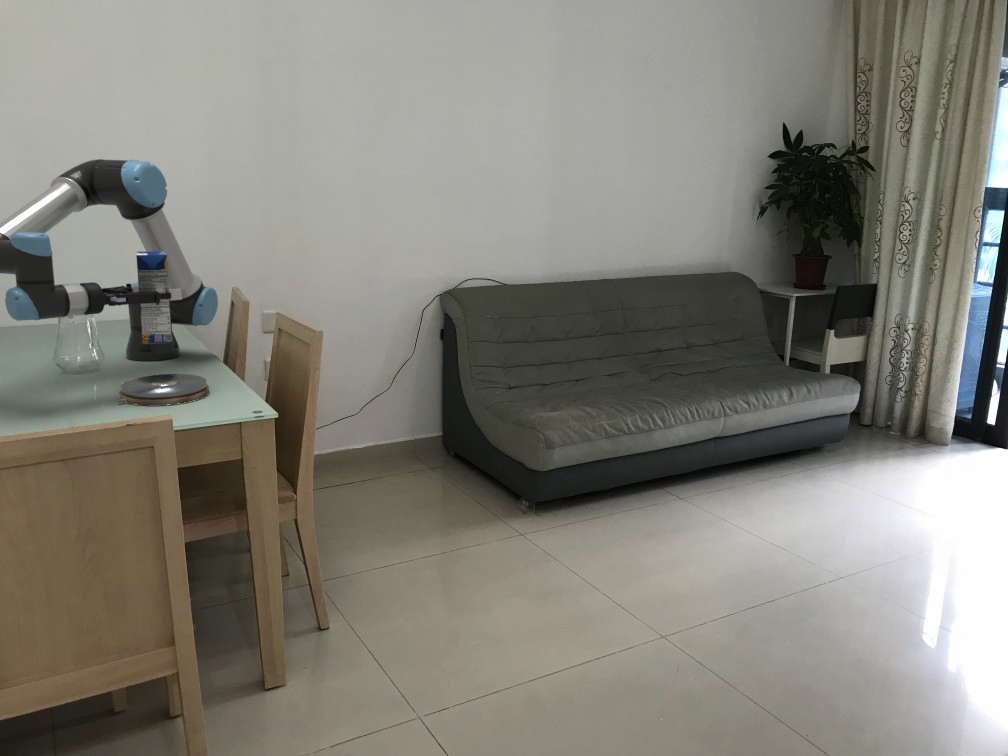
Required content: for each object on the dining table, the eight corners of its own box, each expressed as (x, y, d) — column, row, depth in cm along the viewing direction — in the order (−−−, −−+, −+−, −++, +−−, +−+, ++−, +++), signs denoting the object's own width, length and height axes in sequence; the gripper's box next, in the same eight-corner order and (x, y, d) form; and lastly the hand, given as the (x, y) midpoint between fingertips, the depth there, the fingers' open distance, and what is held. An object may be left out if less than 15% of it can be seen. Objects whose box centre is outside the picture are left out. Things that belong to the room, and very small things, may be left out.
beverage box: (142, 344, 202) (136, 255, 197) (143, 336, 212) (137, 251, 207) (172, 342, 204) (166, 255, 199) (171, 335, 214) (166, 251, 209)
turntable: (179, 375, 219) (178, 370, 219) (222, 388, 207) (222, 382, 207) (105, 389, 204) (105, 383, 203) (148, 403, 192) (148, 397, 191)
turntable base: (180, 380, 220) (179, 375, 220) (225, 394, 208) (225, 388, 207) (96, 396, 202) (95, 390, 202) (140, 412, 190) (140, 406, 190)
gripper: (60, 309, 199) (146, 301, 216) (106, 320, 185) (194, 311, 202) (57, 278, 197) (144, 273, 214) (103, 288, 184) (193, 281, 201)
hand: (169, 291), depth 208 cm, fingers closed on beverage box, 10 cm apart
